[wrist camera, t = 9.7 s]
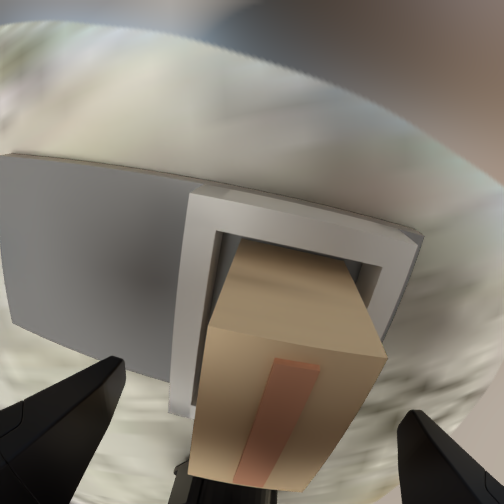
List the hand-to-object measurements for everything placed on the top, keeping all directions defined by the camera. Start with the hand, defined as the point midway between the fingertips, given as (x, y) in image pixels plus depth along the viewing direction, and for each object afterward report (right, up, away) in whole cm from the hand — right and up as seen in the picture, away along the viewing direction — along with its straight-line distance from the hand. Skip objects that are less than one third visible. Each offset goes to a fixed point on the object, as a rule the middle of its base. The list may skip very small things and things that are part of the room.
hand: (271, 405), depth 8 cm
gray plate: (-4, +3, +6) cm, 8 cm away
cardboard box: (0, +2, +5) cm, 5 cm away
